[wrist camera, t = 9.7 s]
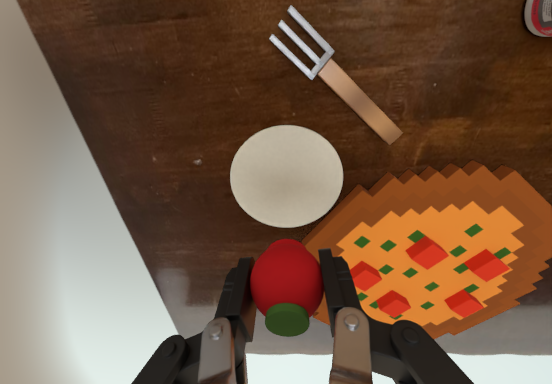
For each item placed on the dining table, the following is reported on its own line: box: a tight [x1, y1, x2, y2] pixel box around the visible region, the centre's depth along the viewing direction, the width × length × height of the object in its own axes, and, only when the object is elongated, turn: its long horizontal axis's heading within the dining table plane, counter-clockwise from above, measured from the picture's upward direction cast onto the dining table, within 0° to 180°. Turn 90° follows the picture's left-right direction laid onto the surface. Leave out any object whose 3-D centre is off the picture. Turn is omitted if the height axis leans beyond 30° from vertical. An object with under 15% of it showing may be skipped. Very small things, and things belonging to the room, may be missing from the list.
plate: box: [230, 125, 343, 227], centre depth 26 cm, size 13×13×1 cm
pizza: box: [302, 160, 552, 339], centre depth 30 cm, size 32×32×3 cm
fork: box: [269, 5, 403, 145], centre depth 20 cm, size 15×3×1 cm, turn 51°
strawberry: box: [250, 239, 325, 337], centre depth 12 cm, size 4×4×4 cm
